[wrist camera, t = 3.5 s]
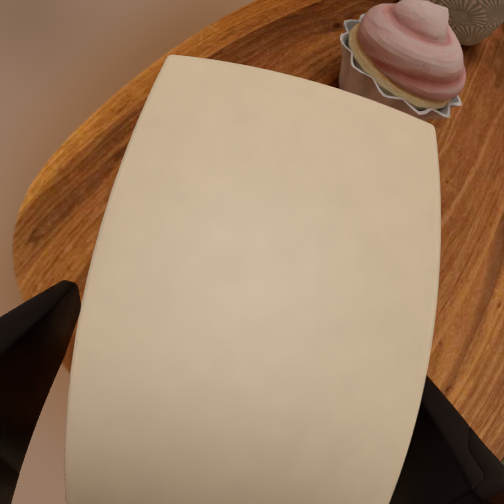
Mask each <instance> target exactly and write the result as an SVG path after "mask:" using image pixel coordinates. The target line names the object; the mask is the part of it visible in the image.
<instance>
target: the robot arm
mask: <svg viewBox="0 0 504 504" xmlns="http://www.w3.org/2000/svg"><path fill="white" fill-rule="evenodd" d="M80 310H81V301H80V295H79V289H78V285H77V284H76V283H74V282H71V281H67V280H63V281H61V282H59V283H57V284H56V285H54V286H52V287H50V288H48V289H47V290H45V291H43V292H42V293H40V294H38V295H36V296H35V297H33V298H31V299H30V300H28V301H26V302H24V303H23V304H21V305H19V306H18V307H16V308H15V309H13V310H11V311H9V312H8V313H6V314H5V315H3V316H1V317H0V504H11V502H12V499H13V495H14V491H15V488H16V484H17V481H18V477H19V474H20V473H19V472H20V470H21V467H22V464H23V461H24V458H25V455H26V452H27V449H28V446H29V443H30V440H31V437H32V434H33V432H34V429H35V426H36V423H37V421H38V418H39V415H40V413H41V410H42V408H43V406H44V403H45V401H46V398H47V396H48V393H49V391H50V388H51V386H52V384H53V381H54V379H55V377H56V374H57V372H58V370H59V368H60V365H61V363H62V361H63V359H64V356H65V353H66V351H67V348H68V345H69V342H70V339H71V336H72V333H73V330H74V328H75V325H76V322H77V319H78V316H79V314H80ZM389 504H504V465H503V464H502V463H501V462H500V461H499V460H498V459H497V457H496V456H495V455H494V454H493V453H492V452H491V451H490V450H489V449H488V448H487V447H486V445H485V444H484V443H483V442H482V441H481V439H480V438H479V437H478V436H477V435H476V433H475V432H474V431H473V430H472V428H471V427H469V425H468V424H467V422H466V421H465V420H464V419H463V417H462V416H461V415H460V414H459V413H458V411H457V410H456V409H455V408H454V407H453V405H452V404H451V403H450V402H449V401H448V399H447V398H446V397H445V396H444V395H443V393H442V392H441V391H440V390H439V389H438V388H437V386H436V385H435V384H434V383H433V382H432V380H431V379H430V378H429V377H428V376H427V375H426V379H425V384H424V389H423V393H422V398H421V402H420V406H419V411H418V415H417V419H416V422H415V426H414V430H413V434H412V437H411V441H410V444H409V447H408V451H407V454H406V457H405V460H404V463H403V466H402V469H401V472H400V475H399V478H398V481H397V484H396V486H395V489H394V492H393V494H392V497H391V500H390V502H389Z"/></svg>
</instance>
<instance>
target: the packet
mask: <svg viewBox="0 0 504 504" xmlns="http://www.w3.org/2000/svg"><path fill="white" fill-rule="evenodd" d="M440 246H441V199H440V176H439V161H438V150H437V140H436V131H435V128H434V126H433V125H432V124H430V123H427V122H425V121H423V120H421V119H418V118H416V117H414V116H411V115H409V114H406V113H404V112H402V111H399V110H397V109H394V108H392V107H389V106H386V105H384V104H381V103H378V102H376V101H373V100H370V99H367V98H365V97H362V96H359V95H356V94H353V93H350V92H347V91H344V90H341V89H337V88H334V87H331V86H328V85H324V84H321V83H317V82H314V81H310V80H307V79H303V78H299V77H295V76H291V75H287V74H283V73H279V72H275V71H270V70H266V69H261V68H256V67H251V66H246V65H241V64H236V63H230V62H224V61H218V60H211V59H204V58H197V57H189V56H180V55H169V56H168V57H167V58H166V60H165V62H164V64H163V66H162V68H161V71H160V73H159V75H158V77H157V79H156V81H155V83H154V85H153V87H152V89H151V92H150V94H149V96H148V98H147V100H146V103H145V105H144V107H143V110H142V112H141V114H140V117H139V119H138V121H137V124H136V126H135V129H134V131H133V134H132V136H131V139H130V141H129V144H128V146H127V149H126V151H125V154H124V157H123V160H122V162H121V165H120V168H119V171H118V173H117V176H116V179H115V182H114V185H113V188H112V191H111V194H110V197H109V200H108V203H107V207H106V210H105V213H104V217H103V220H102V223H101V227H100V230H99V234H98V237H97V241H96V245H95V248H94V252H93V256H92V260H91V264H90V268H89V273H88V277H87V281H86V286H85V290H84V295H83V300H82V305H81V310H80V315H79V320H78V326H77V332H76V338H75V344H74V351H73V358H72V365H71V373H70V382H69V391H68V402H67V415H66V432H65V501H66V503H67V504H389V502H390V500H391V497H392V494H393V492H394V489H395V486H396V484H397V481H398V478H399V475H400V472H401V469H402V466H403V463H404V460H405V457H406V454H407V451H408V447H409V444H410V441H411V437H412V434H413V430H414V426H415V422H416V419H417V415H418V411H419V406H420V402H421V398H422V393H423V389H424V384H425V379H426V374H427V369H428V363H429V357H430V351H431V345H432V338H433V331H434V324H435V315H436V306H437V296H438V284H439V269H440Z"/></svg>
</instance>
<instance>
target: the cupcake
mask: <svg viewBox="0 0 504 504" xmlns="http://www.w3.org/2000/svg"><path fill="white" fill-rule="evenodd" d="M448 19H449V13H448V9H447V8H446V7H443V6H440V5H436V4H434V3H431V2H430V1H426V0H401V1H400V2H398V3H396V4H393V3H392V4H379V5H377V6H374V7H373V8H371V9H370V10H369V11H368V12H367V13H366V14H362V15H361V16H360V19H359V20H346V21H344V32H345V33H344V34H342V35H341V37H340V44H341V53H342V63H341V68H340V74H339V88H340V89H341V90H344V91H347V92H350V93H353V94H356V95H359V96H362V97H365V98H367V99H370V100H373V101H376V102H378V103H381V104H384V105H386V106H389V107H392V108H394V109H397V110H399V111H402V112H404V113H406V114H409V115H411V116H414V117H416V118H418V119H421V120H423V121H424V120H427V119H440V118H449V116H450V108H452V107H456V106H460V105H462V103H461V100H460V98H459V96H458V94H459V93H460V91H461V90H462V89H463V87H464V84H465V79H466V73H465V67H464V64H463V53H462V48H461V46H460V43H459V41H458V39H457V37H456V35H455V34H454V32H453V31H452V29H451V28H450V26H449V25H448Z"/></svg>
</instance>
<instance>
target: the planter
mask: <svg viewBox="0 0 504 504" xmlns="http://www.w3.org/2000/svg"><path fill="white" fill-rule="evenodd" d="M426 1H430V2H431V3H434V4H436V5H440V6H443V7H446V8H447V9H448V13H449V19H448V25H449V26H450V28H451V29H452V31H453V32H454V34H455V35H456V37H457V39H458V41H459V43H460V44H461V45H467V46H469V45H475V44H477V43H479V42H481V41H482V40H484V39H485V38H486V37H488V36H489V35H490V34H491V33H492V32H494V31H495V30H496V29H497V28H498V27H499V26H500V25H501V24H502V23H503V22H504V0H426Z"/></svg>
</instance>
